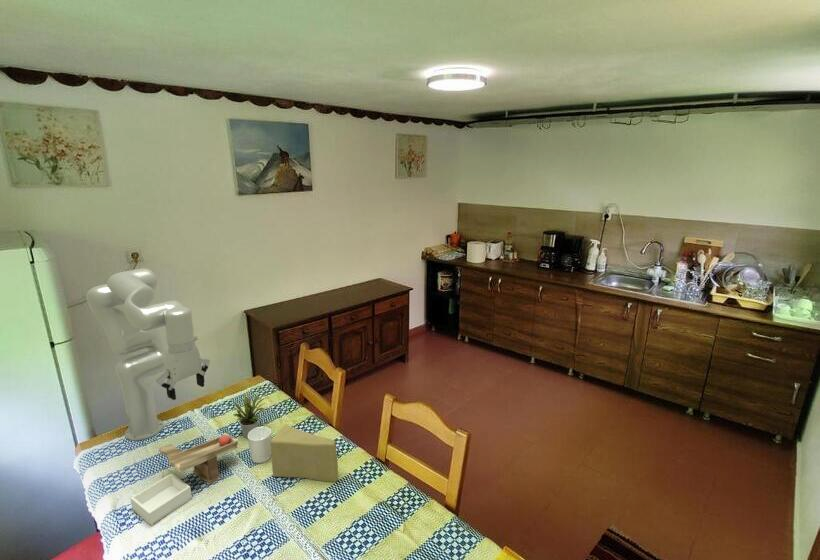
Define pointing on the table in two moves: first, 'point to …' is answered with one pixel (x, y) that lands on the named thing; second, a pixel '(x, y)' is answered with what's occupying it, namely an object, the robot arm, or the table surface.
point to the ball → (224, 440)
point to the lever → (197, 453)
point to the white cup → (260, 444)
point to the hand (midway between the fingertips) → (186, 391)
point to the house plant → (248, 415)
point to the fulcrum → (208, 470)
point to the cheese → (303, 455)
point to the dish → (161, 499)
